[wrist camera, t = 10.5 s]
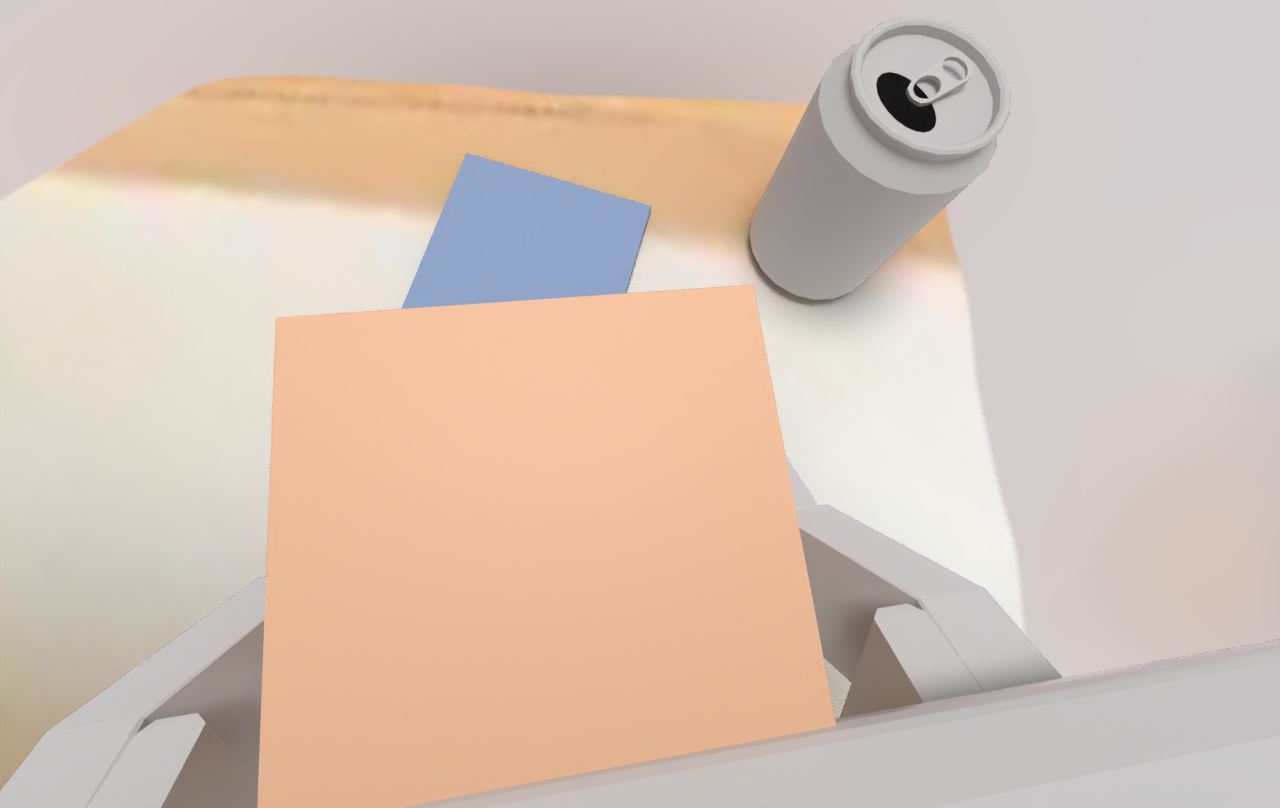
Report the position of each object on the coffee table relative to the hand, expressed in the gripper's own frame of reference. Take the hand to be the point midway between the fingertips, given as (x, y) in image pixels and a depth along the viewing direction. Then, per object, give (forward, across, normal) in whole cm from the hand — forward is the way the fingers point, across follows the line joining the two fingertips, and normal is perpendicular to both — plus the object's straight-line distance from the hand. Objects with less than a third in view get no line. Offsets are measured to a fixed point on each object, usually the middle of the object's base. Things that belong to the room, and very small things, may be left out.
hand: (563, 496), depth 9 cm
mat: (+23, +2, +3) cm, 23 cm away
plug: (+5, 0, +6) cm, 7 cm away
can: (+23, -15, +3) cm, 27 cm away
